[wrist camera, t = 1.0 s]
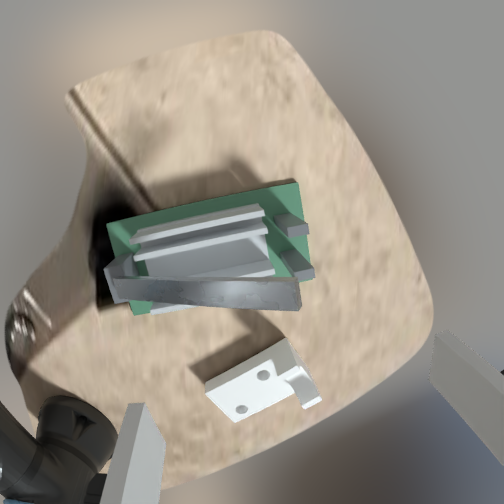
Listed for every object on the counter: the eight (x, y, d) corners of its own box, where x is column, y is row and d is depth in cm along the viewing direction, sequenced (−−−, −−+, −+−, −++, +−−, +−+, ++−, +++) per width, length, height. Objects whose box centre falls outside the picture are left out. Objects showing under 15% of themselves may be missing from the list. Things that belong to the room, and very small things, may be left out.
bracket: (284, 333, 41) (297, 365, 34) (308, 367, 43) (322, 399, 36) (205, 378, 42) (204, 413, 35) (233, 407, 44) (236, 442, 37)
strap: (124, 295, 31) (118, 298, 30) (118, 275, 30) (112, 278, 29) (302, 305, 22) (298, 311, 21) (297, 276, 21) (293, 281, 20)
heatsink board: (134, 313, 38) (117, 345, 30) (107, 223, 35) (80, 237, 27) (311, 277, 39) (332, 303, 31) (296, 182, 36) (317, 185, 28)
